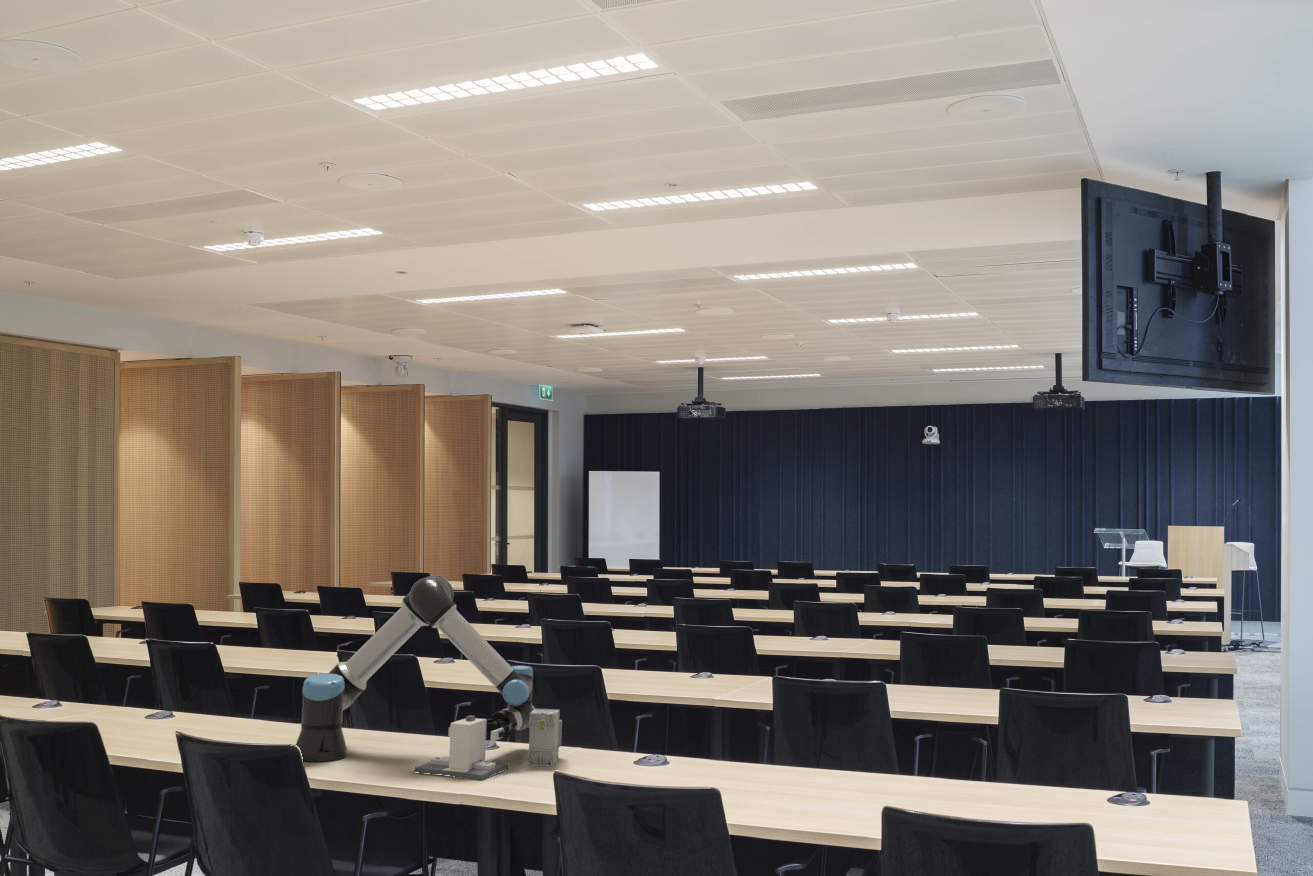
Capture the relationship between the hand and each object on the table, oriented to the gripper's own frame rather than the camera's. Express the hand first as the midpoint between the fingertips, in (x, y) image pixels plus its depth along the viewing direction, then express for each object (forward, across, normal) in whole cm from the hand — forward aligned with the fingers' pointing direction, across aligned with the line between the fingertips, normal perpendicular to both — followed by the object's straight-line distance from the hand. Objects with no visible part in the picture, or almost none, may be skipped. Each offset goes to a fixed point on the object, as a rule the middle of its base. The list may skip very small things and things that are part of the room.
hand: (470, 734), depth 311 cm
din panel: (+1, +2, -10) cm, 10 cm away
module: (+1, 0, -9) cm, 9 cm away
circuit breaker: (-22, -13, -10) cm, 28 cm away
